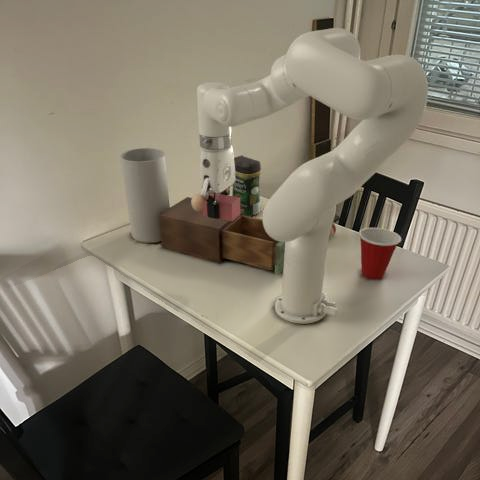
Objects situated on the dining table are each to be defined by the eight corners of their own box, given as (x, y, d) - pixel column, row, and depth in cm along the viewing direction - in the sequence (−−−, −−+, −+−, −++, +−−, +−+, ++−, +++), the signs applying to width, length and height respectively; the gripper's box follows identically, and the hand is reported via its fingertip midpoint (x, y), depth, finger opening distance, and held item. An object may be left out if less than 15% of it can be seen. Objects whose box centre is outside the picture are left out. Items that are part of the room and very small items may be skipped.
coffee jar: (227, 211, 167) (226, 157, 156) (244, 205, 172) (244, 151, 161) (247, 220, 162) (247, 164, 151) (263, 213, 166) (265, 158, 155)
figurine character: (306, 256, 144) (341, 236, 151) (306, 234, 140) (342, 214, 146) (291, 248, 149) (325, 229, 155) (290, 226, 144) (325, 207, 150)
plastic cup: (401, 275, 133) (410, 235, 126) (377, 289, 127) (385, 248, 120) (368, 260, 140) (375, 221, 132) (344, 273, 134) (350, 233, 127)
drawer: (314, 257, 139) (317, 229, 134) (295, 279, 129) (297, 249, 124) (241, 240, 148) (241, 212, 143) (219, 259, 138) (218, 230, 133)
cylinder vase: (180, 234, 153) (173, 154, 139) (148, 248, 146) (138, 165, 131) (155, 222, 160) (146, 145, 146) (124, 235, 153) (111, 155, 138)
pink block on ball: (240, 214, 125) (240, 197, 122) (232, 221, 122) (231, 204, 119) (197, 206, 130) (196, 189, 127) (188, 212, 126) (187, 195, 124)
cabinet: (243, 242, 149) (243, 209, 142) (219, 263, 138) (218, 228, 132) (189, 229, 156) (187, 196, 150) (162, 248, 146) (158, 214, 140)
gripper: (211, 153, 107) (215, 229, 118) (245, 133, 119) (246, 204, 130) (182, 148, 110) (188, 223, 120) (219, 130, 122) (221, 200, 133)
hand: (218, 213), depth 125 cm, fingers closed on pink block on ball, 4 cm apart
